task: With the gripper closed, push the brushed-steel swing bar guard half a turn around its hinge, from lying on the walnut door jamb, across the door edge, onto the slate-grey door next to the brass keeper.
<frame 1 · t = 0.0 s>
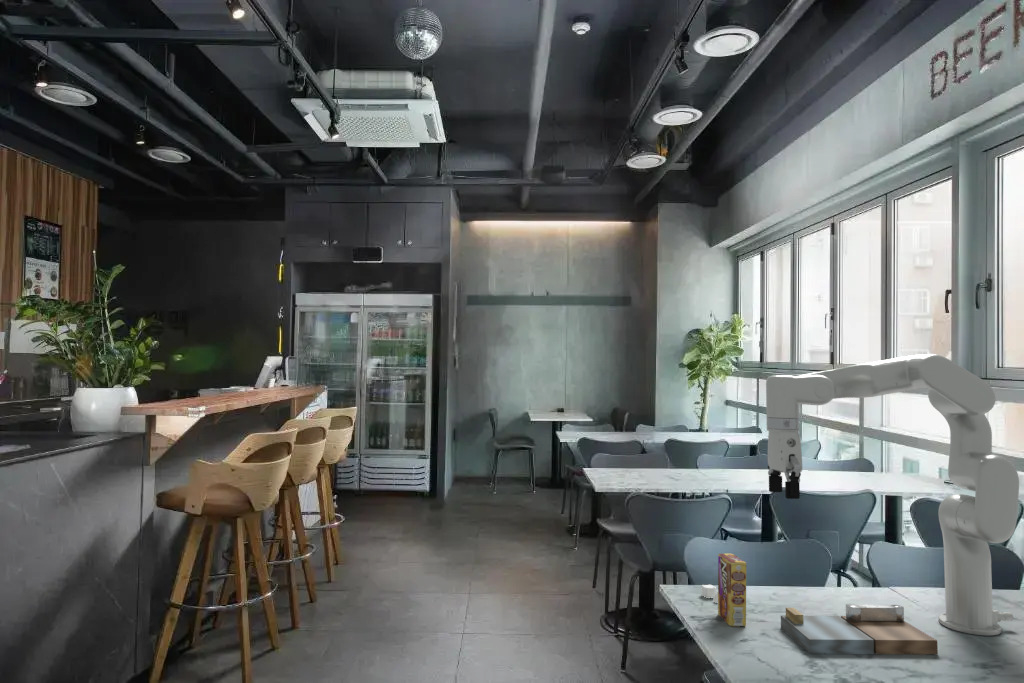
hand: (783, 495, 162), 31 cm above the table, tool pointing down, fingers open, 9 cm apart
swing bar: (874, 612, 156), point 5 cm above the table, hinge at 0.0°
candy box: (732, 621, 163), on the table
door frame: (855, 640, 151), on the table
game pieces: (717, 603, 177), on the table
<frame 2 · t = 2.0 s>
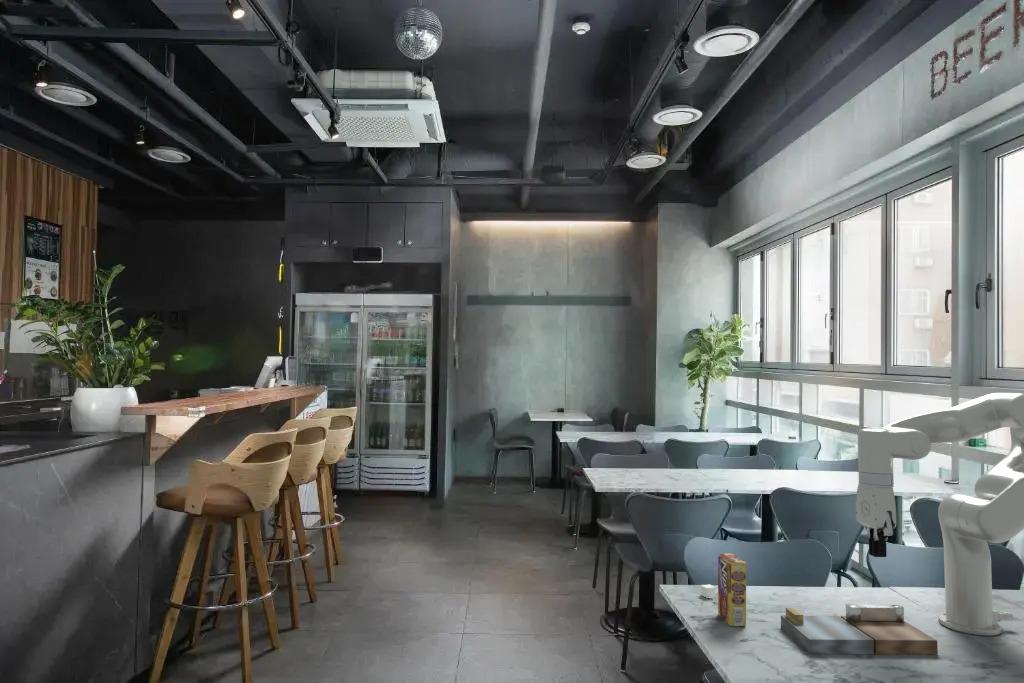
hand: (877, 555, 160), 17 cm above the table, tool pointing down, fingers closed
nothing on the table moved.
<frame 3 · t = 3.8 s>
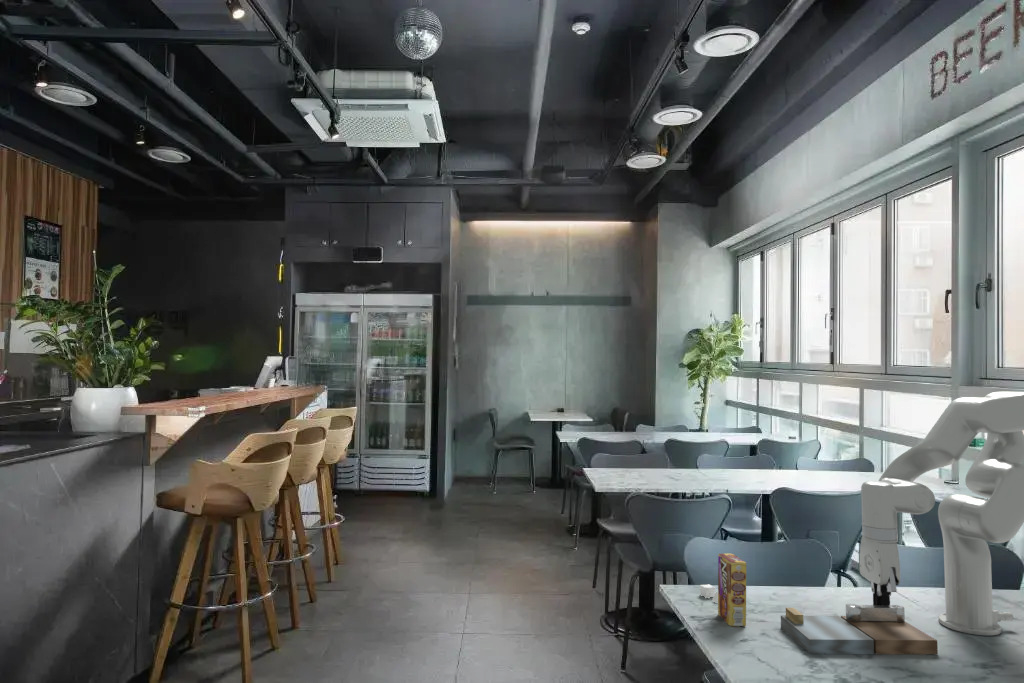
hand: (881, 611, 159), 4 cm above the table, tool pointing down, fingers closed
swing bar: (875, 612, 156), point 5 cm above the table, hinge at 1.4°, touching gripper
everything else where it was.
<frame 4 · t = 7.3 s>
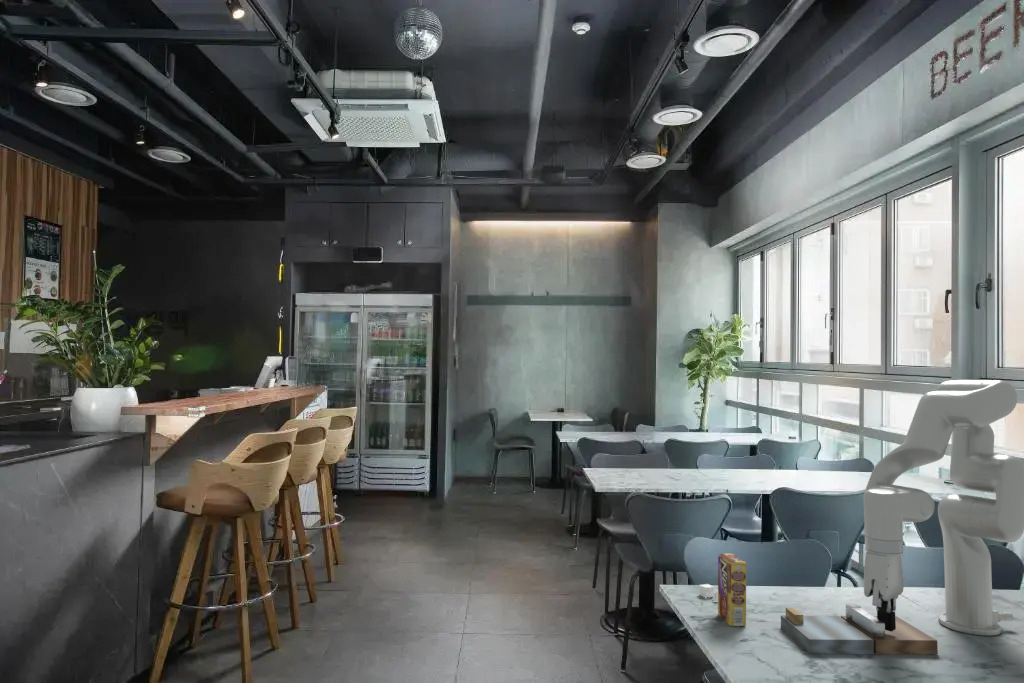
hand: (886, 628, 147), 4 cm above the table, tool pointing down, fingers closed
swing bar: (865, 620, 151), point 5 cm above the table, hinge at 90.3°, touching gripper
everything else where it was.
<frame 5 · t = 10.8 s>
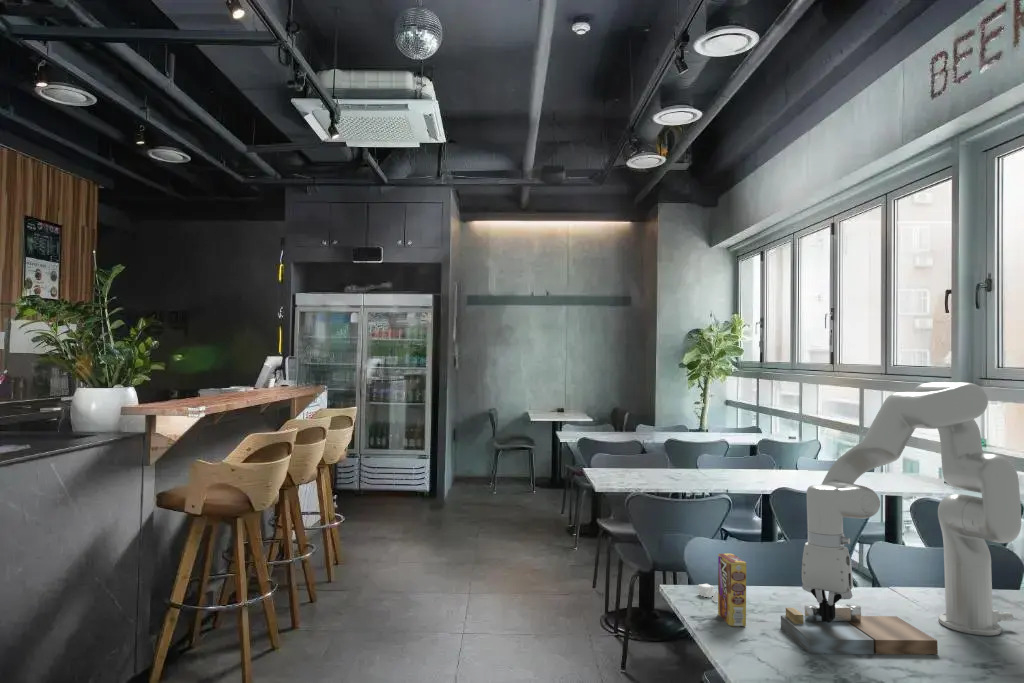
hand: (827, 620, 152), 4 cm above the table, tool pointing down, fingers closed
swing bar: (832, 612, 155), point 5 cm above the table, hinge at 176.1°, touching gripper
everything else where it was.
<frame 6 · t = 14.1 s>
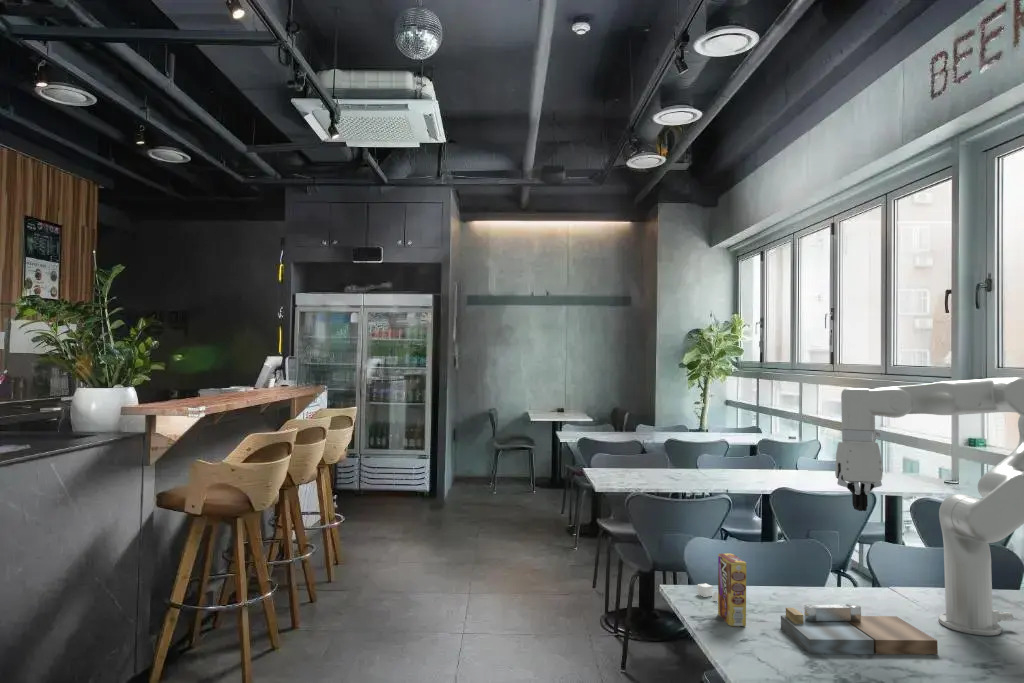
hand: (860, 509, 166), 27 cm above the table, tool pointing down, fingers closed
swing bar: (832, 612, 155), point 5 cm above the table, hinge at 176.5°
at the end: swing bar at +176° (first picture: +0°); the gripper is holding nothing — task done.
